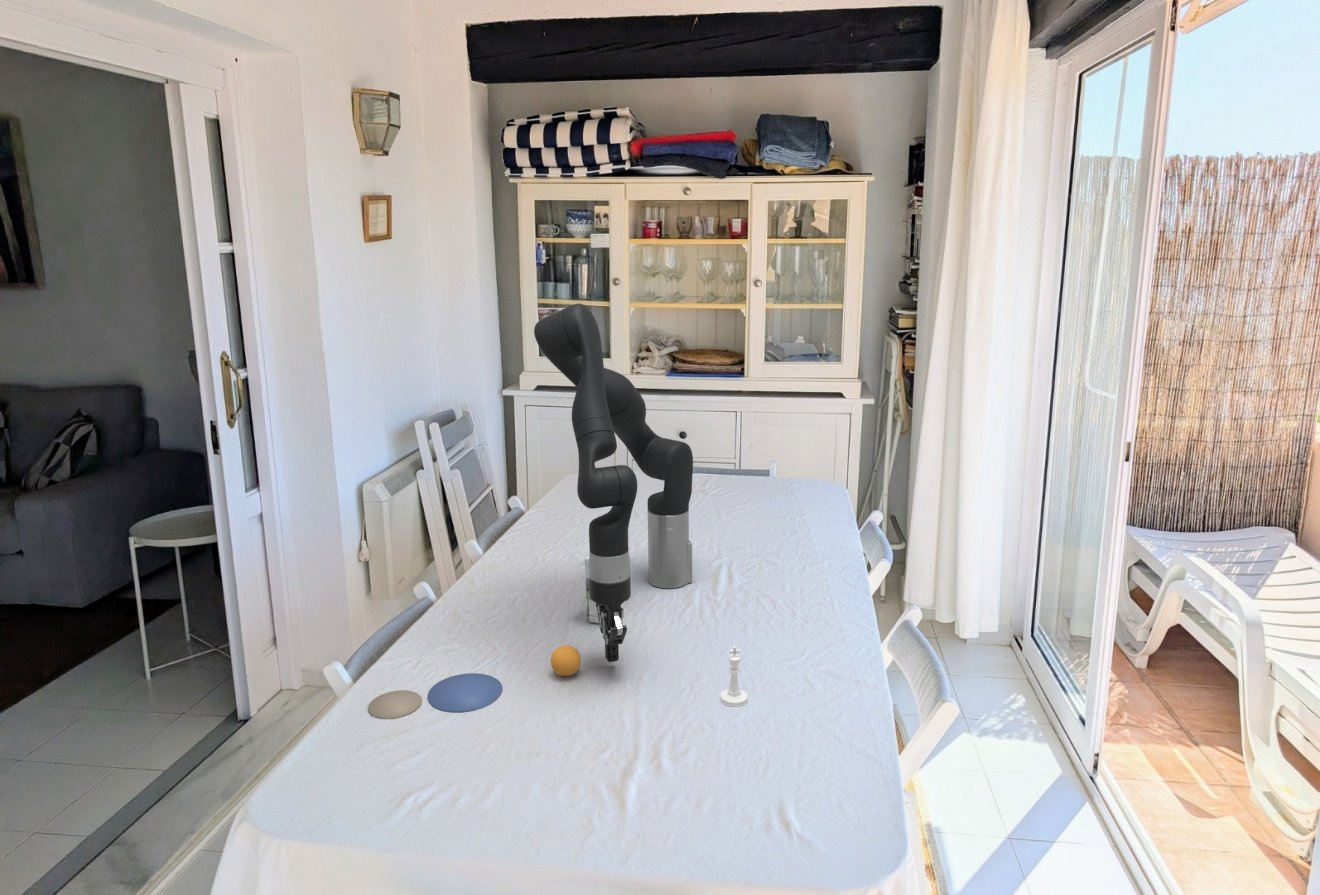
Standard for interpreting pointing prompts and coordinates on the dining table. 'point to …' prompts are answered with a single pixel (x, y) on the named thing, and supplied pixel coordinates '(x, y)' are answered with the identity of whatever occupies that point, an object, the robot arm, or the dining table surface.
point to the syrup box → (591, 605)
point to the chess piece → (734, 684)
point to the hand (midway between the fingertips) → (612, 659)
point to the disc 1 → (395, 704)
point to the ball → (565, 660)
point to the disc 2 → (465, 692)
